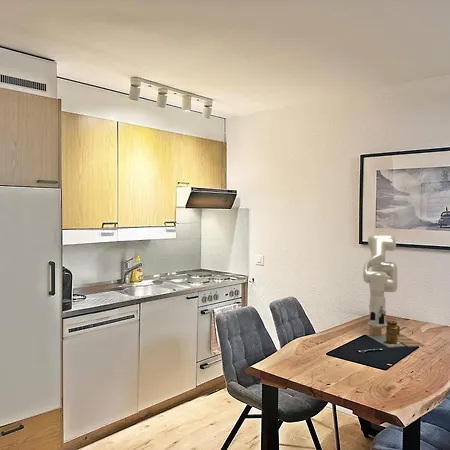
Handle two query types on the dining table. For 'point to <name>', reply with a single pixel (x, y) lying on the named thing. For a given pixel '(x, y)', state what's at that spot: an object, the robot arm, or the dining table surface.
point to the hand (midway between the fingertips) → (377, 322)
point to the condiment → (391, 333)
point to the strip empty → (407, 340)
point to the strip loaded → (380, 336)
